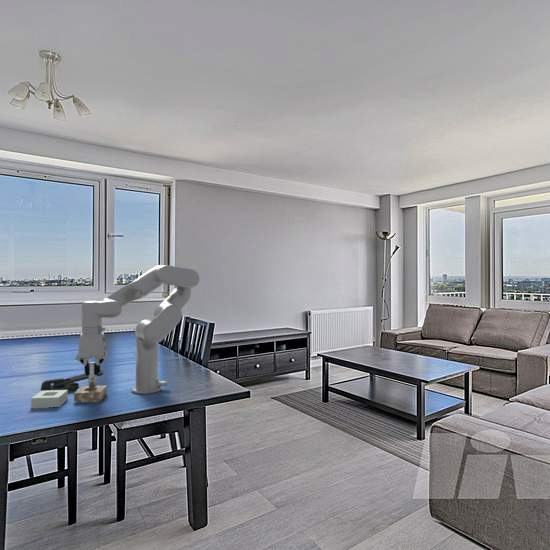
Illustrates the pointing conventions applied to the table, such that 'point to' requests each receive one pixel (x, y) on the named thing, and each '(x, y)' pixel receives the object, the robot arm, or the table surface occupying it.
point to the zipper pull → (65, 383)
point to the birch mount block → (90, 394)
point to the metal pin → (92, 375)
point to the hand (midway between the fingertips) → (92, 374)
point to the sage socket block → (49, 399)
